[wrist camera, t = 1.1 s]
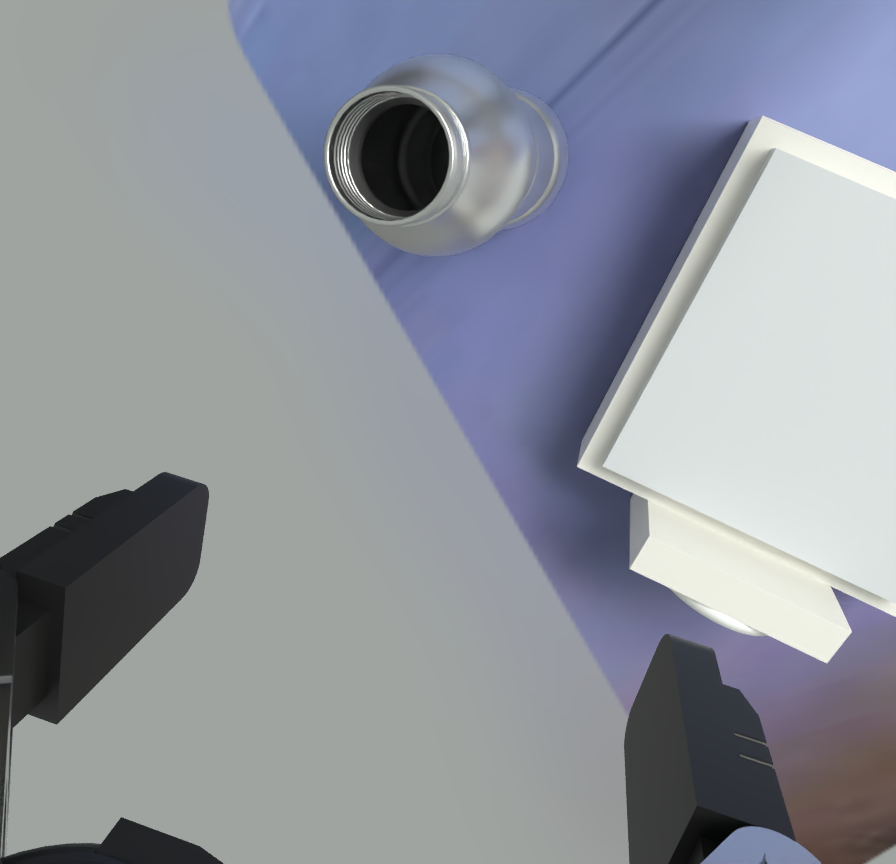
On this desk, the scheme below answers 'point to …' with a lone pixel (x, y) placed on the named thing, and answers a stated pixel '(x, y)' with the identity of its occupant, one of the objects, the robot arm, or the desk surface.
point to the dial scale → (767, 398)
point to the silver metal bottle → (444, 155)
